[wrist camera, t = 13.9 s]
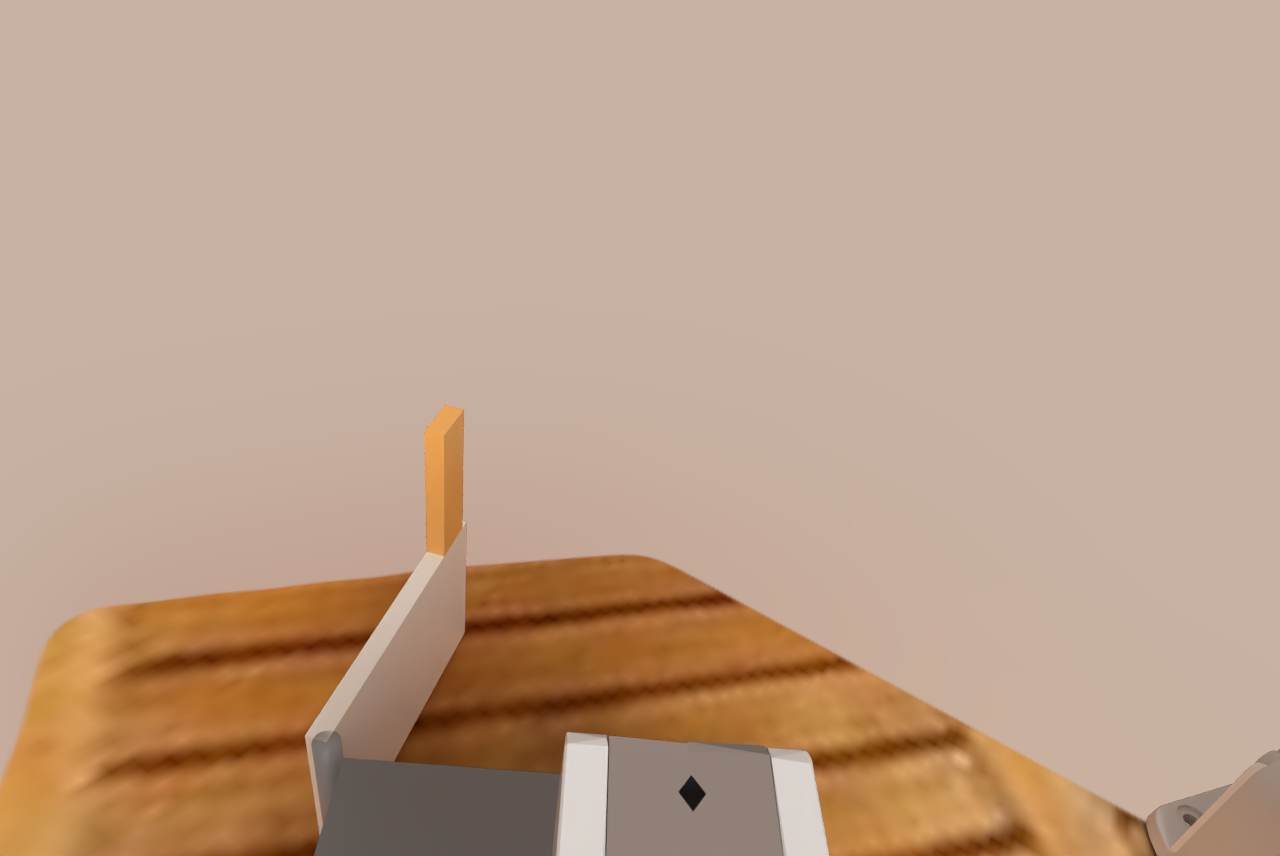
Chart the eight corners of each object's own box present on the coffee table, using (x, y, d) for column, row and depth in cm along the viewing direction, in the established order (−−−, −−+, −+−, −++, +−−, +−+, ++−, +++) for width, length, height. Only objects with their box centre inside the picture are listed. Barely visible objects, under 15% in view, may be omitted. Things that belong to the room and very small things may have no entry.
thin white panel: (473, 635, 55) (479, 406, 45) (346, 873, 43) (315, 628, 33) (449, 628, 56) (450, 398, 46) (315, 862, 43) (276, 616, 33)
